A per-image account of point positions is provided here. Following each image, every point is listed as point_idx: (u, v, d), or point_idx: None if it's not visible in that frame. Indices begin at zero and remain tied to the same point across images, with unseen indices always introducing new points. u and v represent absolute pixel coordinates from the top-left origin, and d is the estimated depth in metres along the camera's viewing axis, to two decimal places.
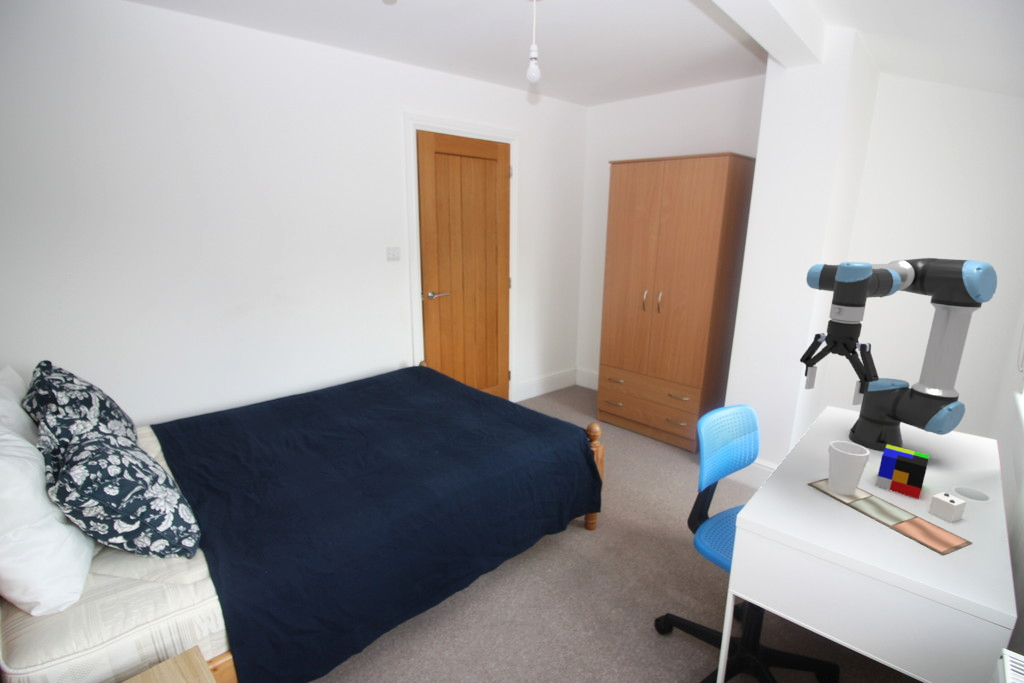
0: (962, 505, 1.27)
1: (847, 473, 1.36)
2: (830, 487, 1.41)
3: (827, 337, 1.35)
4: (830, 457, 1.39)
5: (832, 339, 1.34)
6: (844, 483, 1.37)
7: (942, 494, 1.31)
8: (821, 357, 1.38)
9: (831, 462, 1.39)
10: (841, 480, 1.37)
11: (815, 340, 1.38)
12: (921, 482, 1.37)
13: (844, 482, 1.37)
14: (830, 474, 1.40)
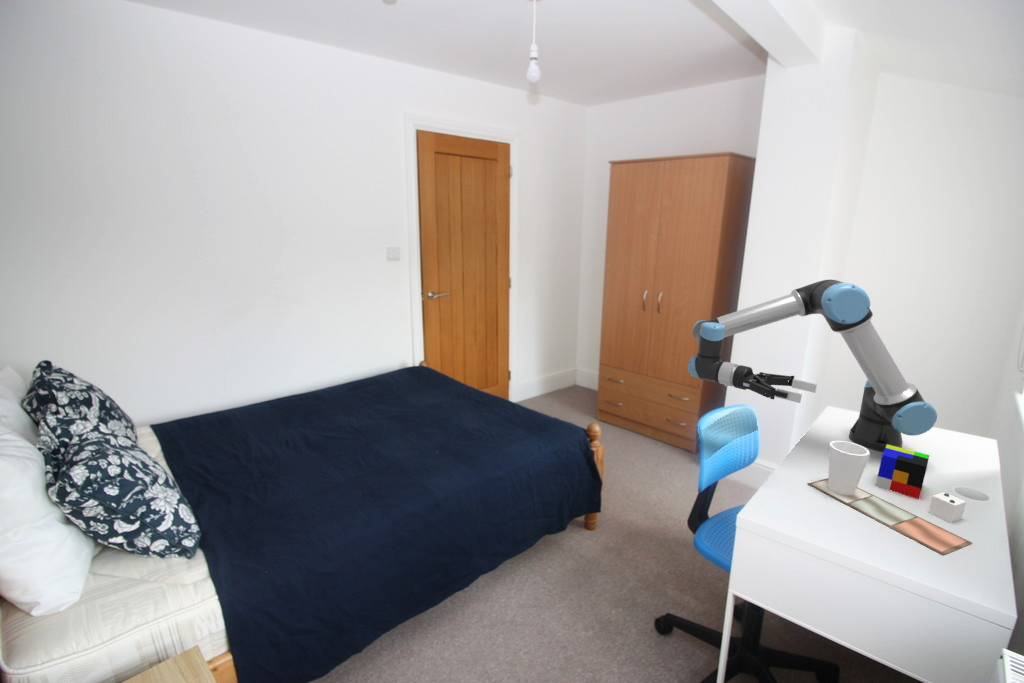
0: (962, 505, 1.27)
1: (847, 473, 1.36)
2: (830, 487, 1.41)
3: None
4: (830, 457, 1.39)
5: None
6: (844, 483, 1.37)
7: (942, 494, 1.31)
8: (778, 382, 1.55)
9: (831, 462, 1.39)
10: (841, 480, 1.37)
11: None
12: (921, 482, 1.37)
13: (844, 482, 1.37)
14: (830, 474, 1.40)
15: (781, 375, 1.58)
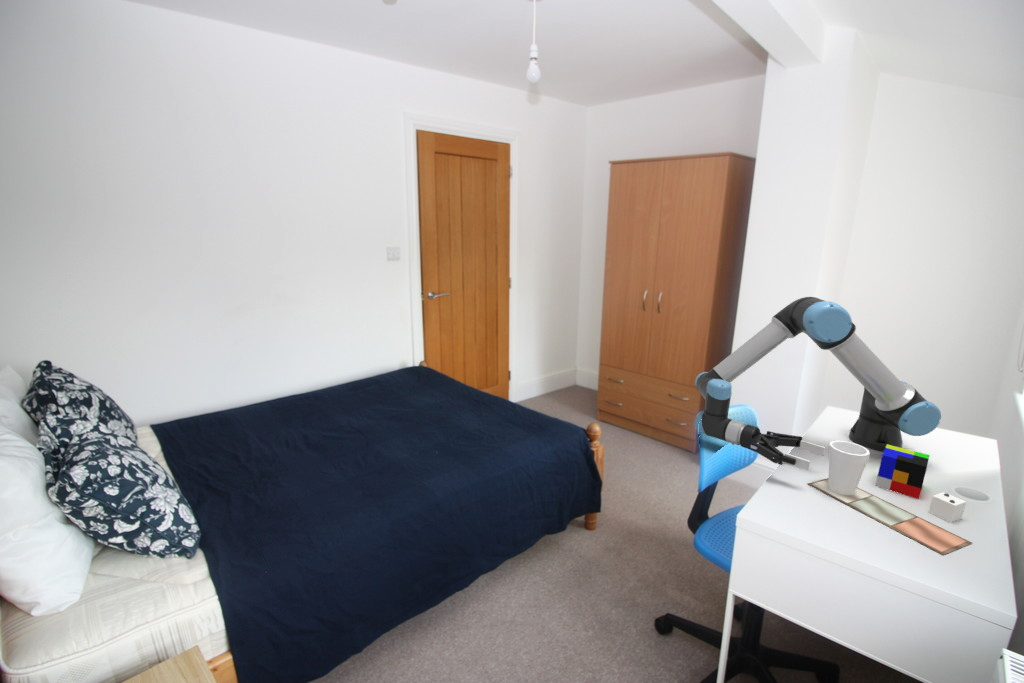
0: (962, 505, 1.27)
1: (847, 473, 1.36)
2: (830, 487, 1.41)
3: None
4: (830, 457, 1.39)
5: None
6: (844, 483, 1.37)
7: (942, 494, 1.31)
8: (786, 443, 1.54)
9: (831, 462, 1.39)
10: (841, 480, 1.37)
11: None
12: (921, 482, 1.37)
13: (844, 482, 1.37)
14: (830, 474, 1.40)
15: (789, 435, 1.57)
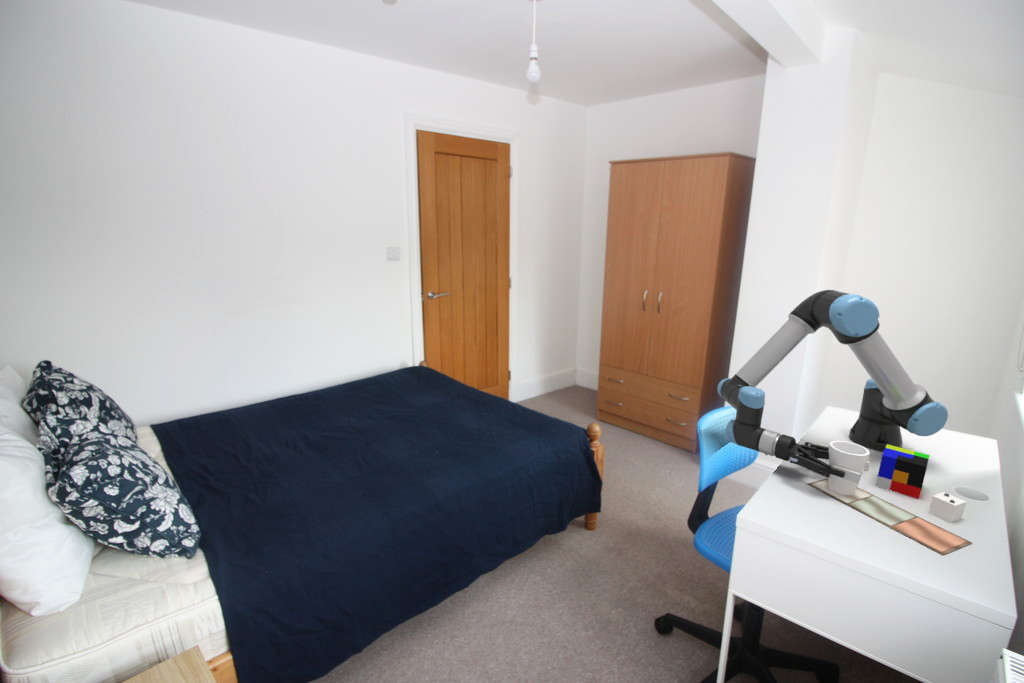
0: (962, 505, 1.27)
1: None
2: (830, 487, 1.41)
3: None
4: (830, 457, 1.39)
5: None
6: (844, 483, 1.37)
7: (942, 494, 1.31)
8: (825, 455, 1.46)
9: (831, 462, 1.39)
10: (841, 480, 1.37)
11: None
12: (921, 482, 1.37)
13: (844, 482, 1.37)
14: (830, 474, 1.40)
15: (828, 448, 1.48)
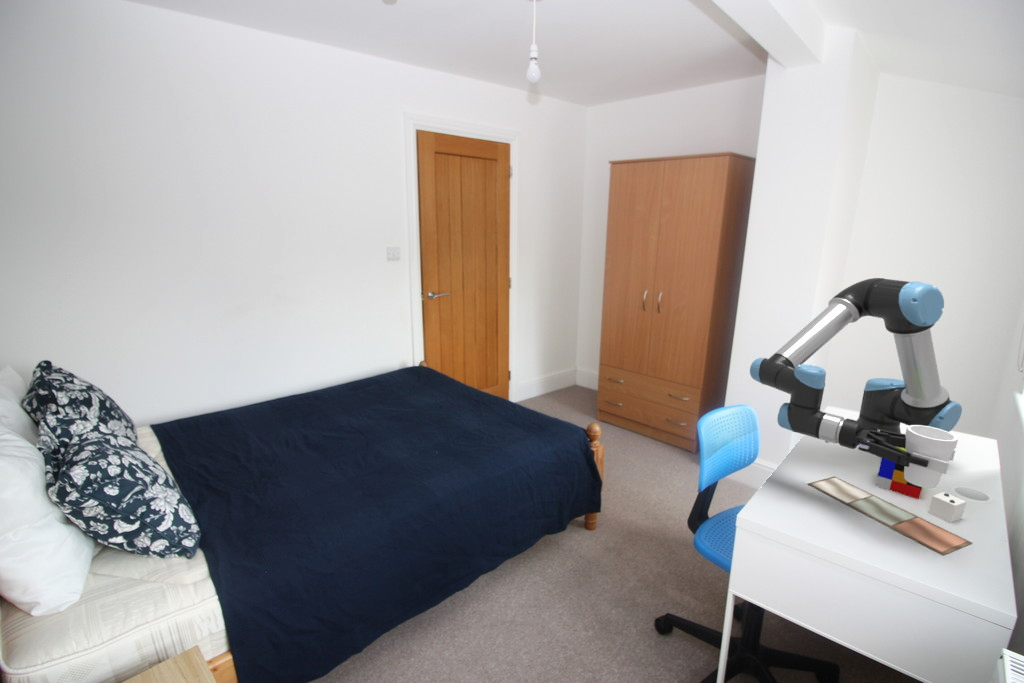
0: (962, 505, 1.27)
1: None
2: (907, 479, 1.21)
3: None
4: (908, 443, 1.20)
5: None
6: (926, 474, 1.17)
7: (942, 494, 1.31)
8: (899, 443, 1.26)
9: (910, 450, 1.19)
10: (922, 471, 1.18)
11: None
12: None
13: (926, 473, 1.17)
14: None
15: (902, 434, 1.28)
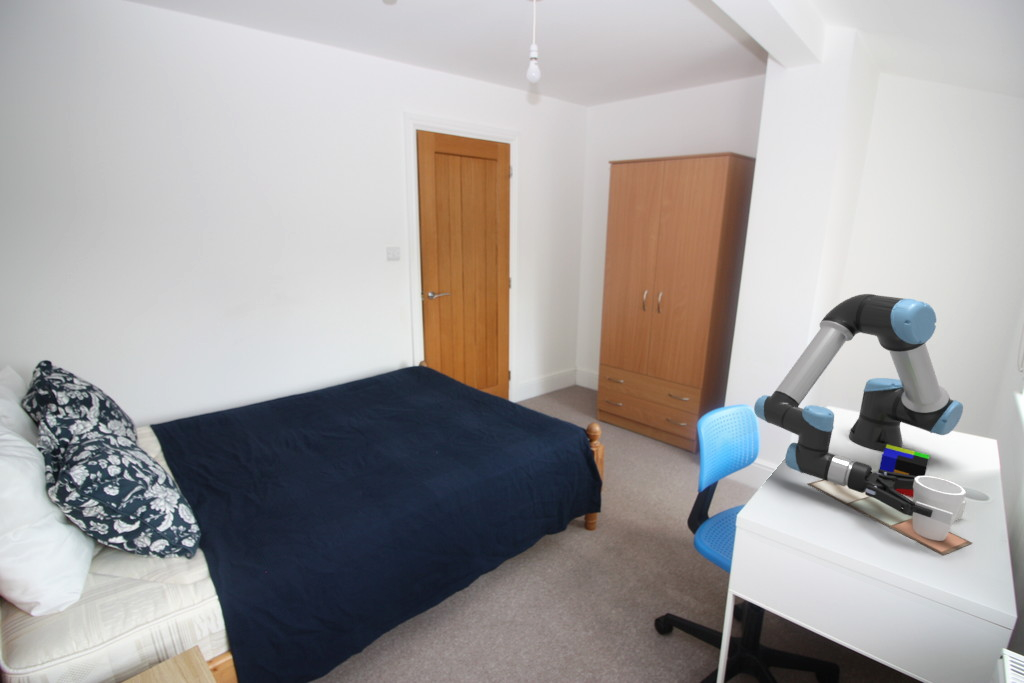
0: (962, 505, 1.27)
1: None
2: (916, 530, 1.21)
3: None
4: (916, 495, 1.20)
5: None
6: (935, 526, 1.18)
7: None
8: (906, 485, 1.27)
9: None
10: (931, 523, 1.18)
11: None
12: None
13: (935, 526, 1.18)
14: (916, 515, 1.21)
15: (907, 475, 1.30)
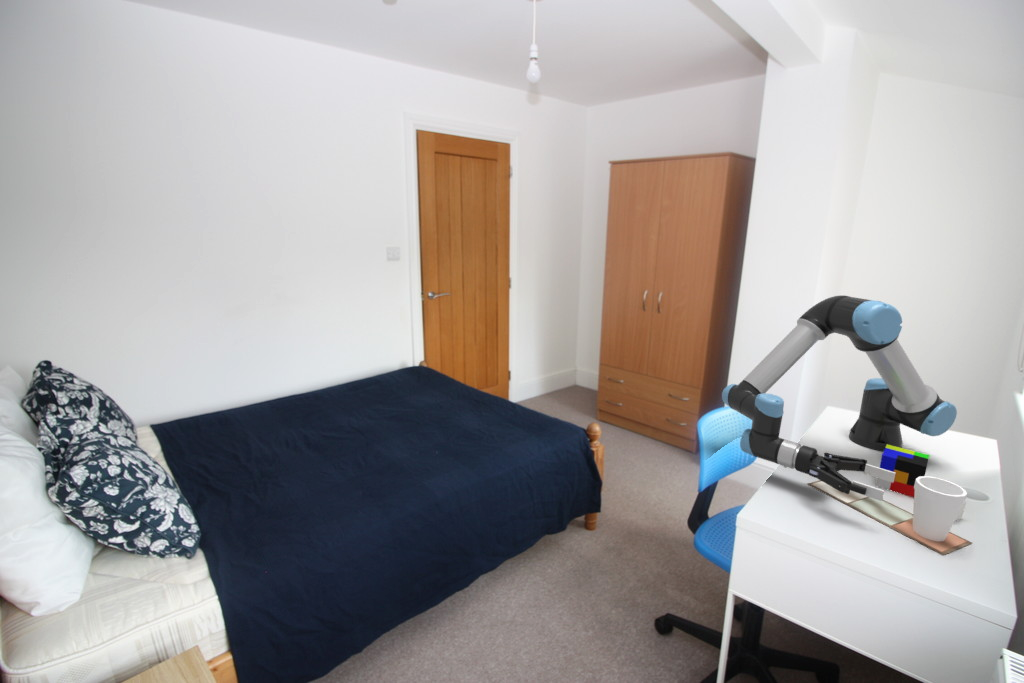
0: (962, 505, 1.27)
1: (940, 516, 1.16)
2: (916, 530, 1.21)
3: None
4: (917, 496, 1.20)
5: None
6: (935, 527, 1.18)
7: None
8: (848, 467, 1.36)
9: (919, 503, 1.19)
10: (931, 524, 1.18)
11: None
12: None
13: (935, 527, 1.17)
14: (917, 516, 1.21)
15: (850, 457, 1.39)
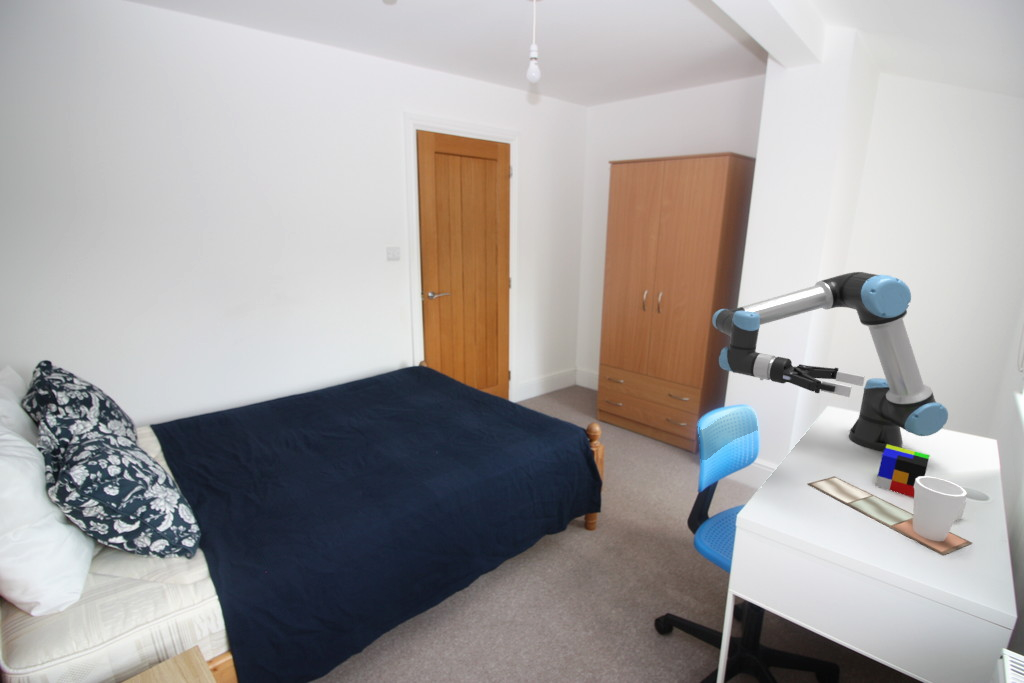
0: (962, 505, 1.27)
1: (940, 516, 1.16)
2: (916, 530, 1.21)
3: None
4: (917, 496, 1.20)
5: None
6: (935, 527, 1.18)
7: None
8: (821, 374, 1.42)
9: (919, 503, 1.19)
10: (931, 524, 1.18)
11: None
12: None
13: (935, 526, 1.17)
14: (917, 516, 1.21)
15: (823, 367, 1.45)
